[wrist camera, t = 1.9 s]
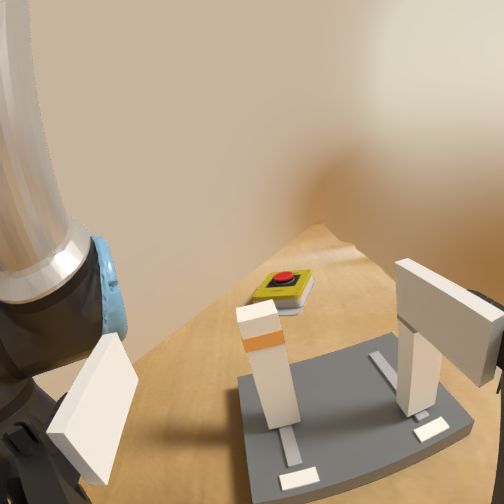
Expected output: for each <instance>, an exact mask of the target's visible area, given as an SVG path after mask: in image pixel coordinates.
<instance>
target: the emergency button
mask: <svg viewBox="0 0 504 504" xmlns="http://www.w3.org/2000/svg"><path fill="white" fill-rule="evenodd" d="M314 282H315V278H313V277H312V272H311V270H297V271H285V272H274V273H270V274H269V275H268V276H267V277H266V279H265V280H264V281H263V283H262V284H261V285H260V286H259V288H258V289H257V290H256V292H255V293H254V294H253V296H252V297H253V303H254V304H256V303H260V302H264V301H268V300H272V299H273V302H274V304H275V307H276V309H277V312H278V315H279V316H295V315H299V314H300V313H301V312H302V310H303V308H304V305H305V303H306V301H307V299H308V296H309V294H310V292H311V289H312V287H313V285H314Z"/></svg>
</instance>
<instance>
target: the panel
mask: <svg viewBox="0 0 504 504" xmlns="http://www.w3.org/2000/svg"><path fill="white" fill-rule="evenodd" d="M289 367H290V372H291V376H292V381H293V386H294V391H295V395H296V400H297V405H298V410H299V415H300V420H301V422H298V423H294V424H290V425H286V426H282V427H278V428H274V429H270V430H269V427H268V424H267V420H266V417H265V414H264V411H263V407H262V404H261V401H260V397H259V394H258V391H257V387H256V384H255V381H254V377H253V374H249V375H245V376H240V377H237V378H238V387H239V396H240V405H241V414H242V423H243V431H244V440H245V448H246V456H247V464H248V472H249V480H250V487H251V495H252V502H253V504H304V503H308V502H312V501H315V500H319V499H323V498H326V497H329V496H333V495H336V494H339V493H342V492H345V491H348V490H351V489H354V488H357V487H360V486H363V485H365V484H368V483H371V482H373V481H376V480H378V479H381V478H383V477H386V476H388V475H391V474H393V473H395V472H398V471H400V470H402V469H404V468H407V467H409V466H411V465H413V464H415V463H417V462H419V461H421V460H423V459H425V458H427V457H429V456H431V455H433V454H435V453H437V452H439V451H441V450H443V449H445V448H446V447H448V446H450V445H452V444H454V443H455V442H457V441H459V440H460V439H462V438H464V437H465V436H467V435H469V434H470V432H471V429H472V426H473V423H474V419H473V418H472V417H471V416H470V415H469V414H468V413H467V412H466V410H465V409H464V408H463V407H462V406H461V405H460V404H459V403H458V402H457V401H456V399H455V398H454V397H453V396H452V395H451V394H450V393H449V392H448V391H447V390H446V389H445V388H444V386H443V385H442V384H441V383H440V382H438V388H437V394H436V400H435V404H434V405H432V406H430V407H428V408H426V409H424V410H422V411H420V412H418V413H416V414H414V415H411V416H409V417H407V416H406V415H405V413H404V412H403V411H402V409H401V408H400V406H399V405H398V403H397V402H396V391H397V371H398V338H397V337H396V336H395V335H394V334H393V333H392V332H391V333H388V334H385V335H383V336H380V337H377V338H374V339H371V340H368V341H365V342H363V343H360V344H357V345H353V346H350V347H347V348H344V349H341V350H338V351H335V352H331V353H328V354H325V355H321V356H318V357H315V358H311V359H308V360H304V361H301V362H297V363H293V364H290V365H289Z"/></svg>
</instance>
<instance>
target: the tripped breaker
mask: <svg viewBox="0 0 504 504" xmlns="http://www.w3.org/2000/svg"><path fill="white" fill-rule="evenodd" d="M236 312H237V320H238V325H239V329H240V332H241V336H242V342H243V345H244V349H245V352H246V353H247V357H248V360H249V363H250V367H251V370H252V374H253V377H254V381H255V384H256V387H257V391H258V394H259V397H260V401H261V404H262V407H263V411H264V414H265V417H266V420H267V424H268V427H269V430H270V429H274V428H278V427H282V426H286V425H290V424H294V423H298V422H301V420H300V415H299V410H298V405H297V400H296V395H295V391H294V386H293V381H292V376H291V372H290V367H289V362H288V357H287V353H286V348H285V340H284V335H283V330H282V328H281V324H280V320H279V315H278V312H277V309H276V307H275V304H274V302H273V299H272V300H268V301H264V302H260V303H256V304H252V305H247V306H243V307H239V308H236Z"/></svg>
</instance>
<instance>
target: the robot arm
mask: <svg viewBox="0 0 504 504" xmlns="http://www.w3.org/2000/svg"><path fill="white" fill-rule="evenodd" d="M394 264H395V277H396V295H397V314H398V315H399V316H400V317H402V318H403V319H404V320H405V321H406V322H407V323H408V324H410V325H411V326H412V327H413V328H414V329H415V330H416V331H417V332H419V333H420V334H421V335H422V336H423V337H424V338H425V339H426V340H428V341H429V342H430V343H431V344H432V345H433V346H434V347H435V348H436V349H438V350H439V351H440V352H441V353H442V354H443V355H444V356H445V357H446V358H447V359H449V360H450V361H451V362H452V363H453V364H454V365H455V366H456V367H457V368H458V369H459V370H460V371H462V372H463V373H464V374H465V375H466V376H467V377H468V378H469V379H470V380H471V381H472V382H473V383H474V384H475V385H476V386H478V387H479V388H480V387H481V386H483V385H484V384H486V383H488V382H489V381H491V380H492V379H493V378H494V374H495V370H496V366H498V367H499V368H501V369H502V374H501V378H500V381H499V385H498V388H497V392H496V394H499V391H500V389H501V424H500V441H499V453H498V463H497V471H496V478H495V485H494V491H493V496H492V502H491V504H504V306H502V305H501V304H499V303H497V302H496V301H495V302H494V300H492V299H490V298H487V296H485V295H483V294H482V293H480V292H477V291H473V290H469V289H468V290H465V289H464V288H462V287H460V286H458V285H456V284H455V283H453V282H451V281H449V280H447V279H446V278H444V277H442V276H440V275H438V274H437V273H435V272H433V271H431V270H429V269H427V268H425V267H423V266H421V265H420V264H418V263H416V262H414V261H412V260H410V259H408V258H407V259H404V260H400V261H397V262H395V263H394ZM127 330H128V326H127V318H126V313H125V308H124V304H123V299H122V295H121V292H120V289H119V286H118V281H117V277H116V271H115V268H114V264H113V260H112V257H111V254H110V251H109V247H108V245H107V242H106V240H105V239H104V237H102V236H91V237H90V234H89V232H88V229H87V228H86V226H85V225H84V224H83V223H82V222H81V221H79V220H77V219H75V218H72V217H69V216H67V215H66V212H65V208H64V205H63V202H62V199H61V196H60V192H59V189H58V185H57V182H56V178H55V174H54V171H53V167H52V163H51V159H50V155H49V151H48V147H47V143H46V138H45V133H44V129H43V124H42V119H41V113H40V108H39V102H38V97H37V90H36V83H35V77H34V68H33V59H32V49H31V38H30V18H29V0H0V504H9V503H8V500H7V498H8V499H9V500H10V501H11V504H92V503H91V501H90V499H89V498H88V496H87V494H86V492H85V491H84V489H83V488H82V487H81V485H80V484H79V483H78V481H79V478H80V475H81V476H82V477H83V478H84V480H85V481H86V482H87V483H88V484H89V485H100V486H107V484H108V480H109V476H110V473H111V469H112V465H113V462H114V458H115V455H116V451H117V448H118V444H119V441H120V437H121V434H122V431H123V427H124V424H125V421H126V418H127V414H128V411H129V408H130V405H131V402H132V399H133V395H134V392H135V389H136V386H137V383H138V380H139V379H138V377H137V375H136V373H135V371H134V369H133V367H132V365H131V363H130V361H129V359H128V356H127V355H126V352H125V350H124V348H123V346H122V343H121V342H122V341H123V340H124V339H125V337H126V334H127ZM88 357H89V358H88ZM85 358H88V359H87V361H86V363H85V364H84V366H83V368H82V369H81V371H80V373H79V374H78V376H77V378H76V379H75V381H74V383H73V385H72V387H71V388H70V390H69V392H67V393H65V394H64V395H63V396H62V397H61V398H60V399H59V400H58V401H57V402H56V401H55V400H53V399H52V398H51V397H50V396H49V395H48V394H46V393H45V392H44V391H43V390H42V389H41V388H40V387H39V386H38V385H37V384H36V383H35V381H34V380H33V378H32V377H33V376H35V375H38V374H41V373H44V372H47V371H50V370H53V369H56V368H59V367H62V366H65V365H68V364H71V363H73V362H76V361H79V360H82V359H85Z"/></svg>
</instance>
